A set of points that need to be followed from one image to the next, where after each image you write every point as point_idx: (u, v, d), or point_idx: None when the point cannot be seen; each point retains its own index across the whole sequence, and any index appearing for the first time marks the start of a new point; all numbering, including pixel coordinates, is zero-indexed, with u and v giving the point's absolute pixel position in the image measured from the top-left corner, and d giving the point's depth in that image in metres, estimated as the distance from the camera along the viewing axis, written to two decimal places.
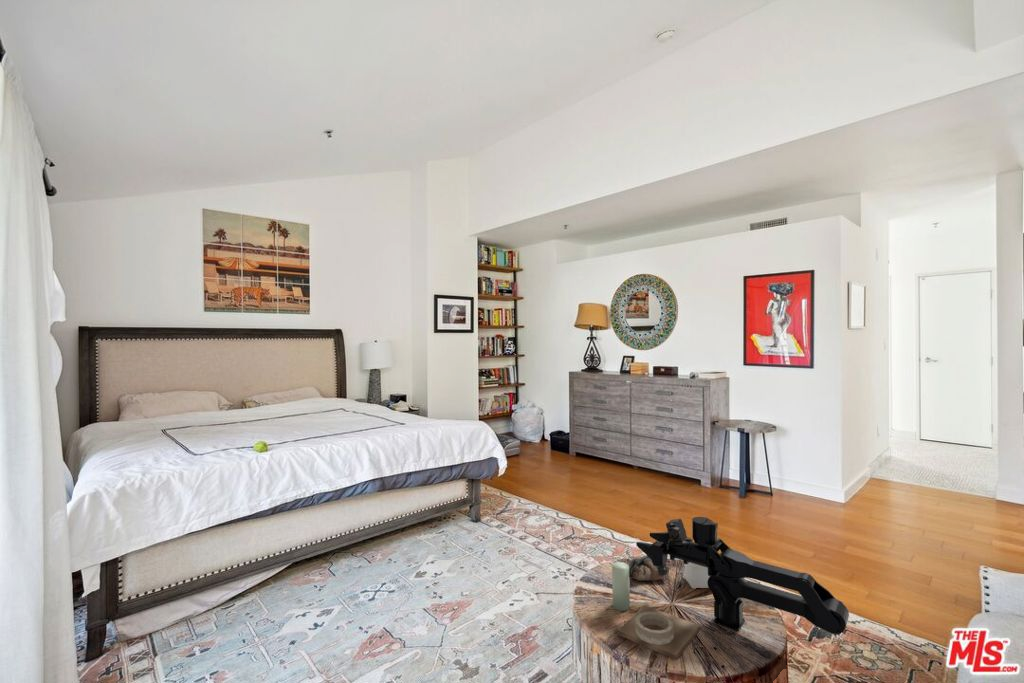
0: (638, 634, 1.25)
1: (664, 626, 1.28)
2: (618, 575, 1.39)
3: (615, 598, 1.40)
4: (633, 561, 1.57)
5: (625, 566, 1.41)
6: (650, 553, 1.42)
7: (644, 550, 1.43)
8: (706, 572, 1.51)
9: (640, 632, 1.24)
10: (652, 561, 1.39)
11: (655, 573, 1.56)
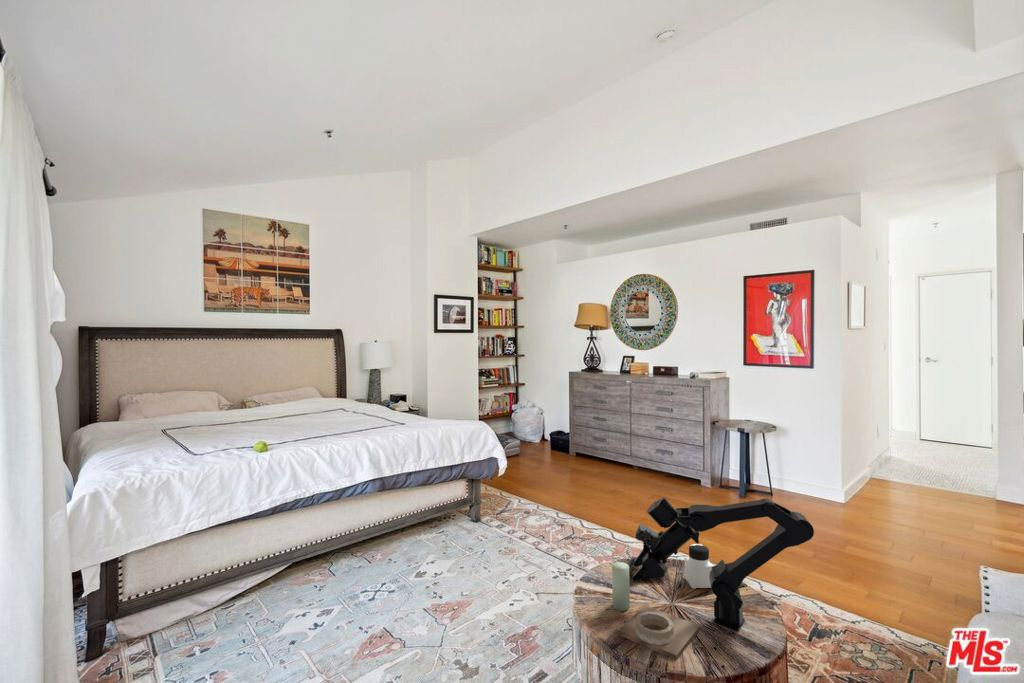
0: (638, 634, 1.25)
1: (664, 626, 1.28)
2: (618, 575, 1.39)
3: (615, 598, 1.40)
4: (632, 560, 1.58)
5: (625, 566, 1.41)
6: (648, 574, 1.33)
7: (642, 577, 1.34)
8: (706, 572, 1.51)
9: (640, 632, 1.24)
10: (655, 577, 1.31)
11: None
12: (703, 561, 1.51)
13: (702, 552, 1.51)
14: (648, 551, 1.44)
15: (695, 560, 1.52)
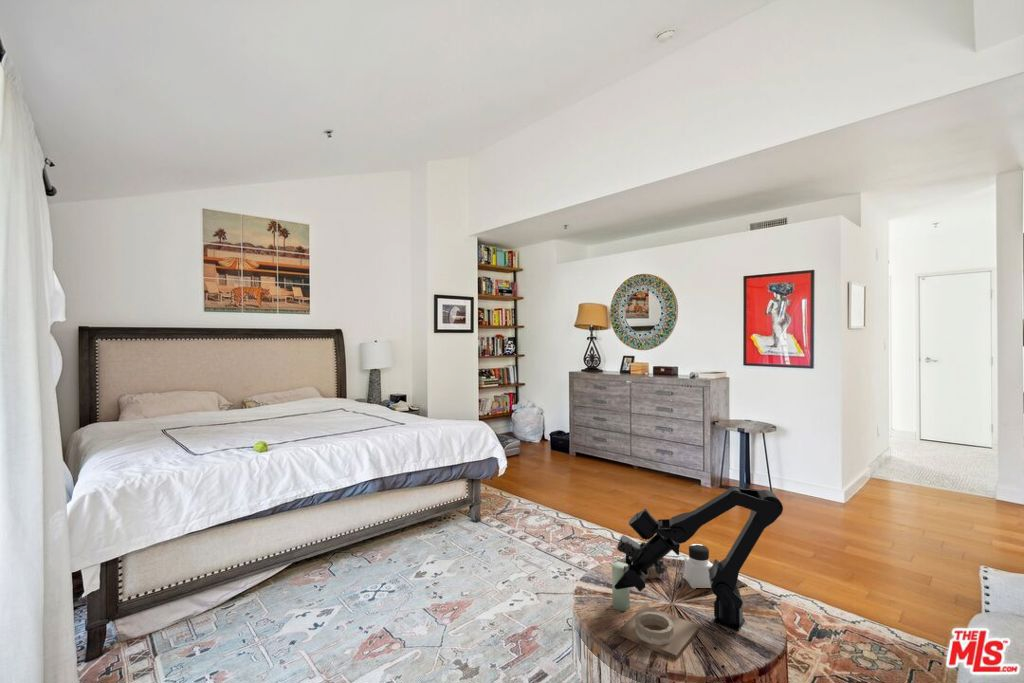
0: (638, 634, 1.25)
1: (664, 626, 1.28)
2: (618, 575, 1.39)
3: (615, 598, 1.40)
4: None
5: (625, 566, 1.41)
6: (630, 582, 1.37)
7: (624, 585, 1.38)
8: (706, 572, 1.51)
9: (640, 632, 1.24)
10: None
11: (652, 572, 1.57)
12: (703, 561, 1.51)
13: (702, 552, 1.51)
14: (630, 565, 1.44)
15: (695, 560, 1.52)
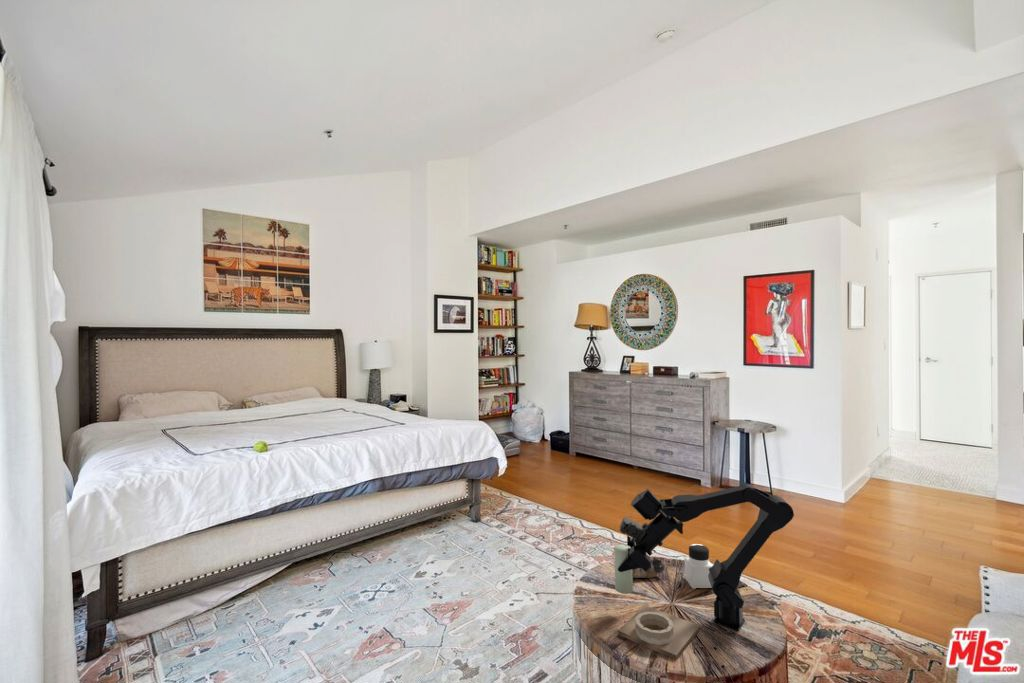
0: (638, 634, 1.25)
1: (664, 626, 1.28)
2: (622, 557, 1.37)
3: (618, 581, 1.37)
4: None
5: None
6: (634, 564, 1.34)
7: (628, 567, 1.35)
8: (706, 572, 1.51)
9: (640, 632, 1.24)
10: None
11: (651, 571, 1.58)
12: (703, 561, 1.51)
13: (702, 552, 1.51)
14: (632, 547, 1.42)
15: (695, 560, 1.52)
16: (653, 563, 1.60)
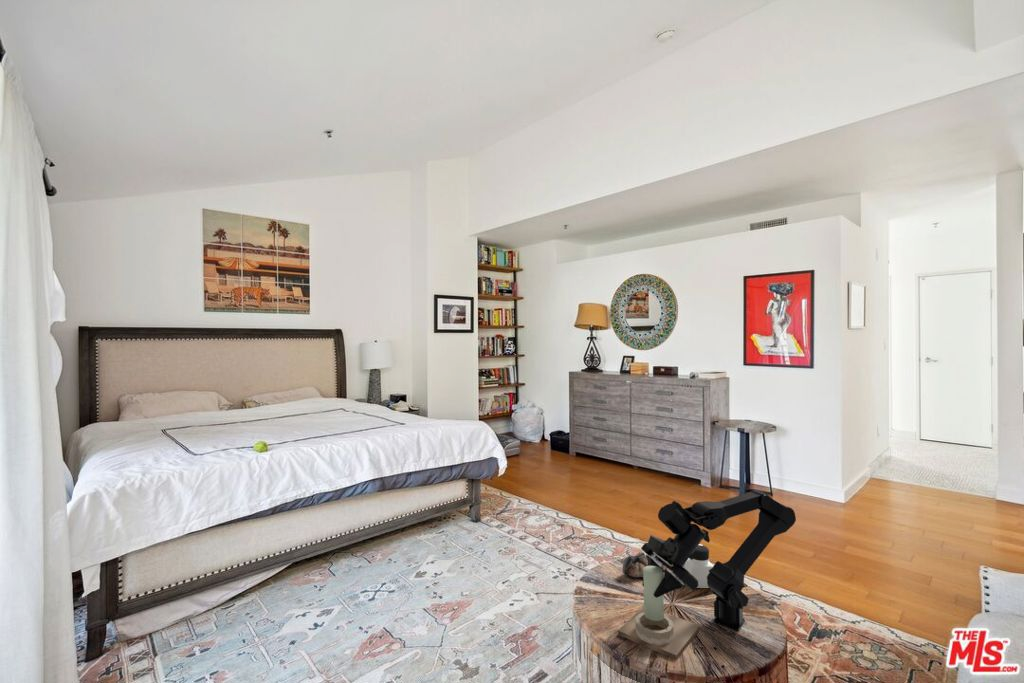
0: (638, 634, 1.25)
1: (664, 626, 1.28)
2: (657, 581, 1.24)
3: (653, 608, 1.24)
4: (628, 558, 1.59)
5: (657, 569, 1.27)
6: (672, 585, 1.23)
7: (666, 590, 1.23)
8: (706, 572, 1.51)
9: (640, 632, 1.24)
10: (683, 587, 1.22)
11: None
12: (703, 561, 1.51)
13: (702, 552, 1.51)
14: None
15: (695, 560, 1.52)
16: None
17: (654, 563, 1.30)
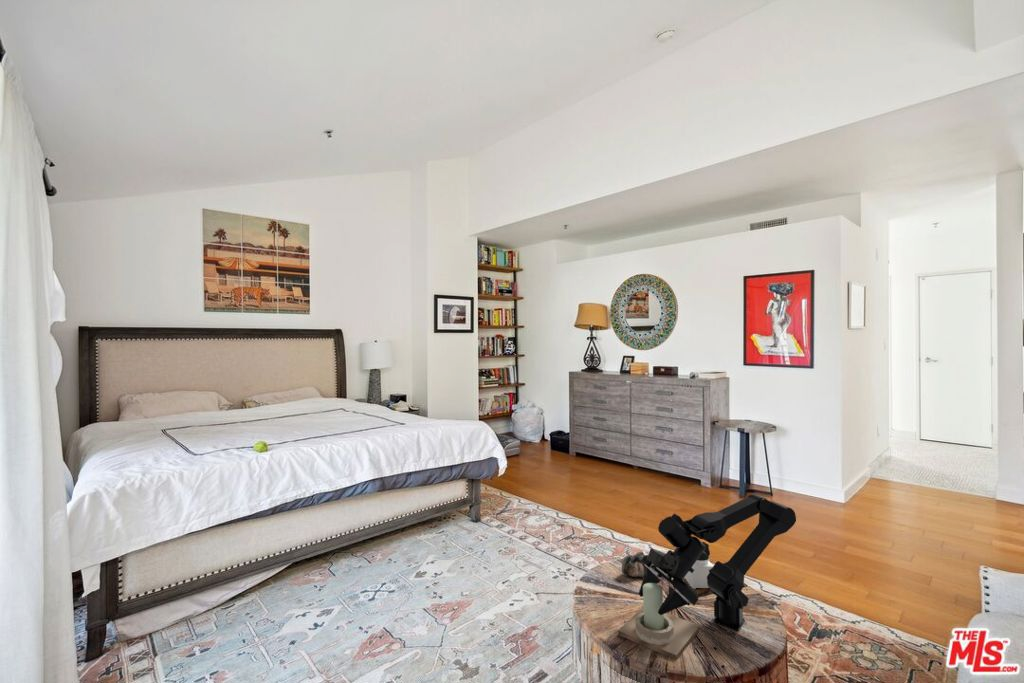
0: (638, 634, 1.25)
1: (664, 626, 1.28)
2: (657, 598, 1.24)
3: (653, 626, 1.24)
4: (627, 558, 1.59)
5: (657, 586, 1.27)
6: (676, 602, 1.21)
7: (670, 608, 1.21)
8: (706, 572, 1.51)
9: (640, 632, 1.24)
10: (688, 604, 1.20)
11: None
12: (703, 561, 1.51)
13: None
14: (652, 576, 1.32)
15: None
16: None
17: (650, 572, 1.32)
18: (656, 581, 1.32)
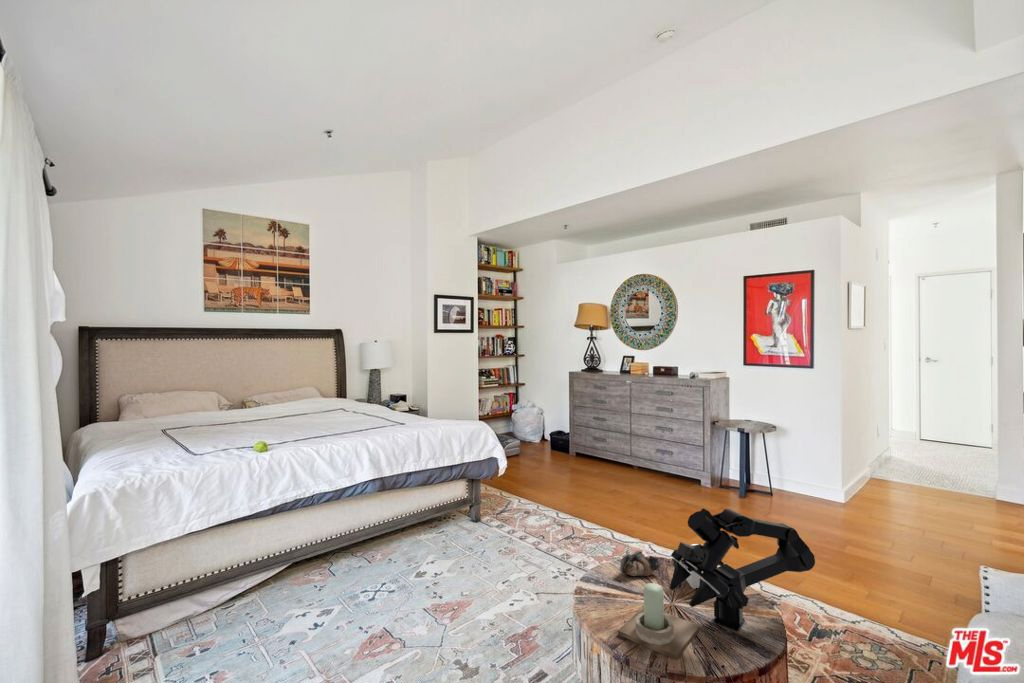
0: (638, 634, 1.25)
1: (664, 626, 1.28)
2: (658, 599, 1.24)
3: (653, 627, 1.24)
4: (626, 557, 1.60)
5: (658, 586, 1.27)
6: (707, 594, 1.24)
7: (701, 600, 1.24)
8: None
9: (640, 632, 1.24)
10: (719, 596, 1.23)
11: (647, 569, 1.59)
12: None
13: None
14: (682, 569, 1.35)
15: None
16: (649, 561, 1.61)
17: (680, 566, 1.35)
18: (686, 575, 1.35)
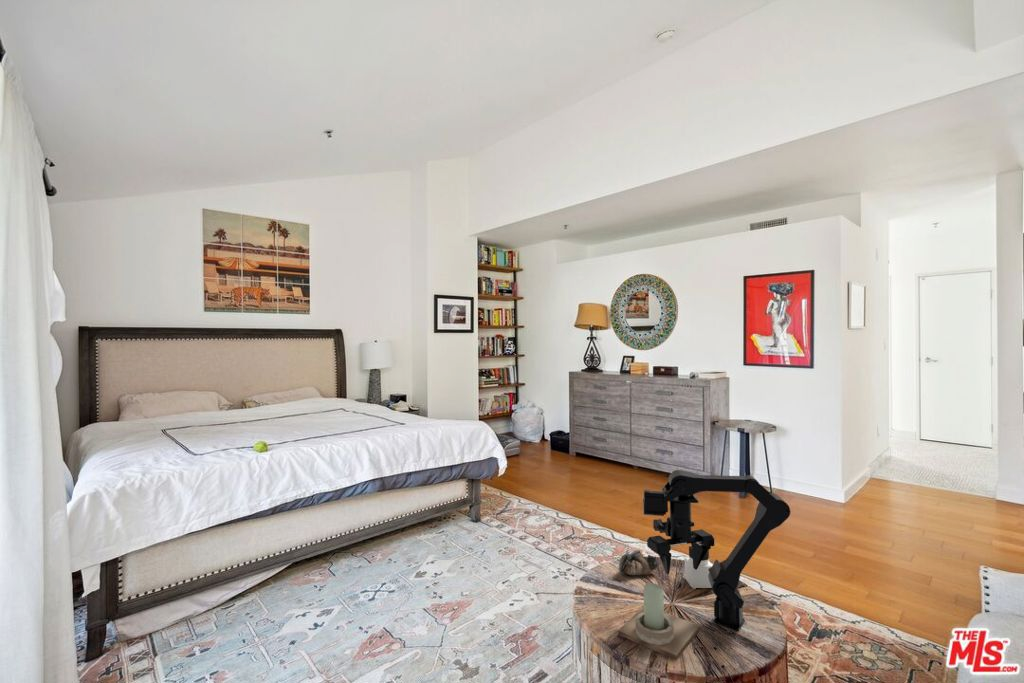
0: (638, 634, 1.25)
1: (664, 626, 1.28)
2: (657, 599, 1.24)
3: (653, 627, 1.24)
4: (625, 556, 1.60)
5: (658, 586, 1.27)
6: (664, 557, 1.33)
7: (665, 564, 1.33)
8: (706, 572, 1.51)
9: (640, 632, 1.24)
10: (660, 555, 1.31)
11: (646, 568, 1.60)
12: (703, 561, 1.51)
13: None
14: (695, 546, 1.37)
15: None
16: (648, 560, 1.62)
17: (693, 544, 1.38)
18: (700, 551, 1.35)
